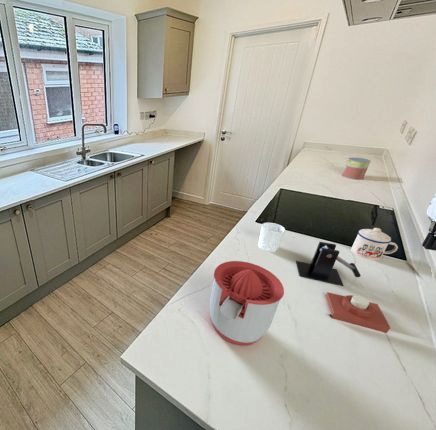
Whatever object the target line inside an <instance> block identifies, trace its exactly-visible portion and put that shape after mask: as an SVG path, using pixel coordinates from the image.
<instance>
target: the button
mask: <svg viewBox="0 0 436 430" xmlns="http://www.w3.org/2000/svg"><path fill="white" fill-rule="evenodd" d="M369 302H370V301H369V300H368V299H367V298H364V297H363V296H360V295H353V297H352V299H351V301H350V303H351V304H352V305H353V306H355V307H357V308H360V309H367V307H368V305H369Z"/></svg>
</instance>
